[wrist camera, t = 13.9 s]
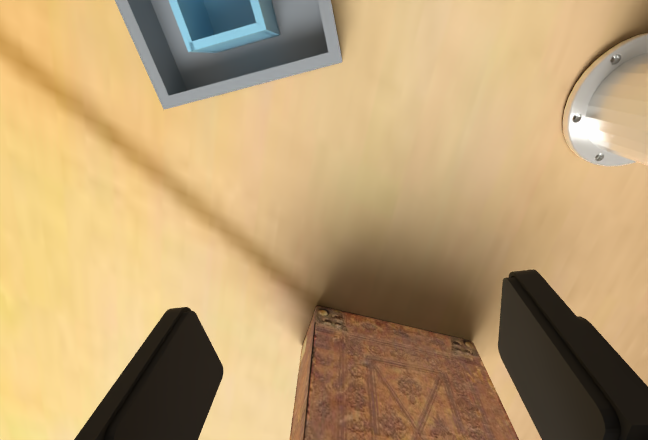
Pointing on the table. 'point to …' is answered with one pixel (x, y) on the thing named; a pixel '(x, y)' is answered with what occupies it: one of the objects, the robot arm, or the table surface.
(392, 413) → the book
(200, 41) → the teal crate
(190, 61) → the grey square tray
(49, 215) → the table surface
